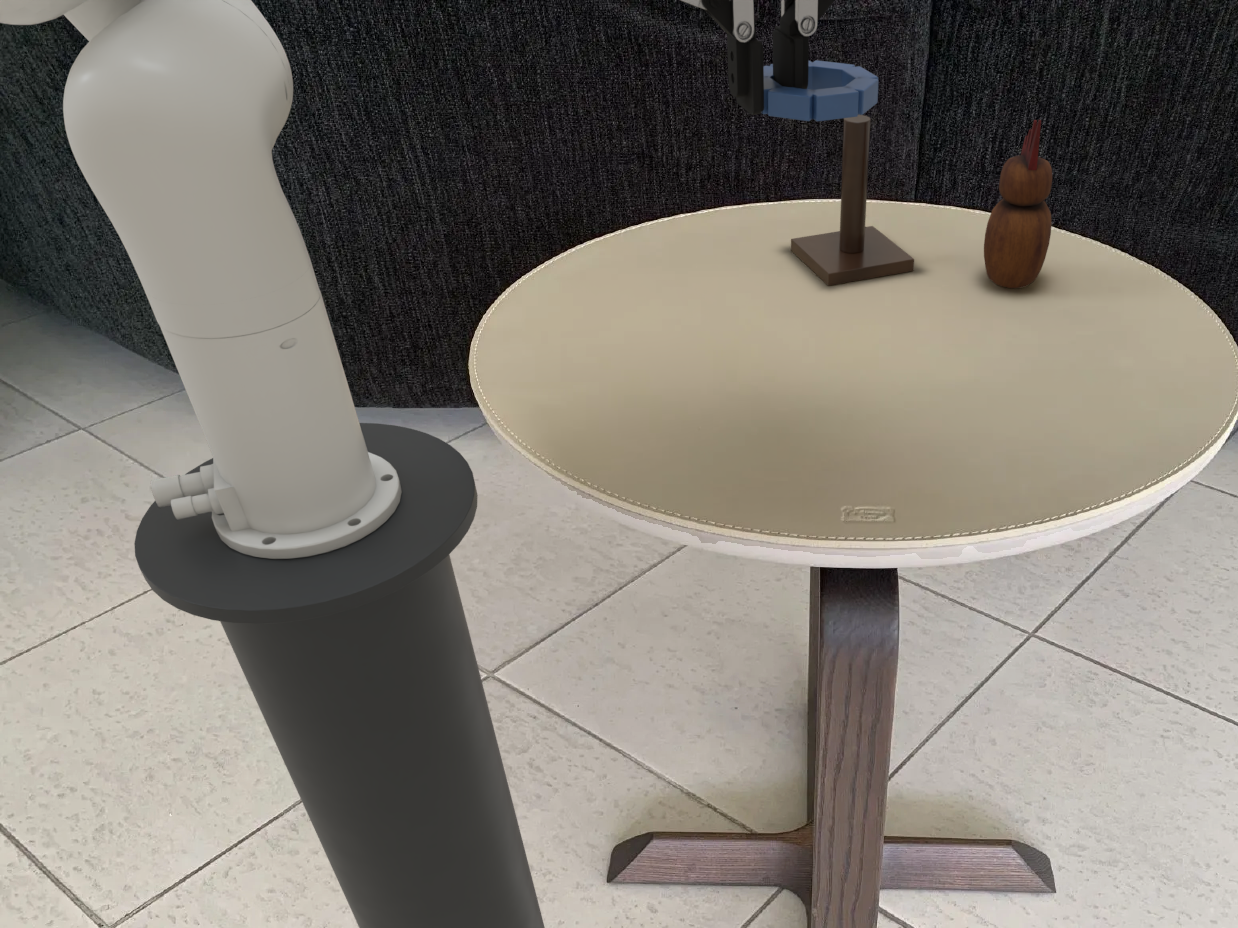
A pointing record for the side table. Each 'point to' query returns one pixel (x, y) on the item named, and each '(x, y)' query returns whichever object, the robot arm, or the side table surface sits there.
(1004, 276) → the wooden figurine
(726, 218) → the side table surface
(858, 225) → the post
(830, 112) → the ring
